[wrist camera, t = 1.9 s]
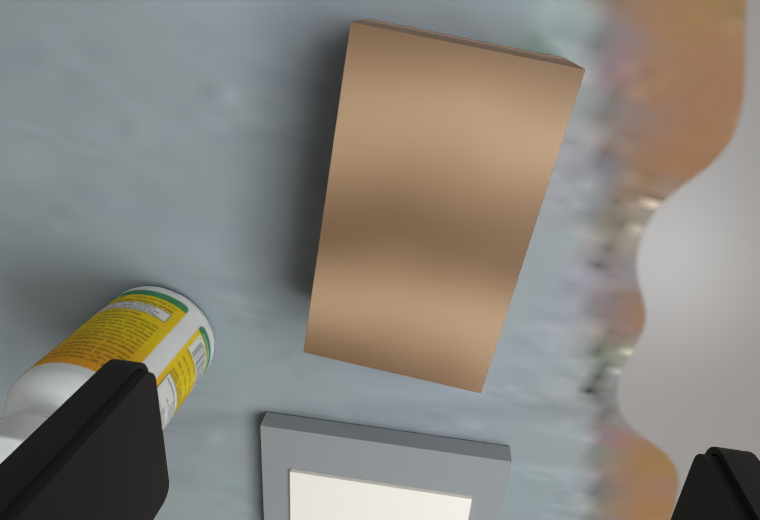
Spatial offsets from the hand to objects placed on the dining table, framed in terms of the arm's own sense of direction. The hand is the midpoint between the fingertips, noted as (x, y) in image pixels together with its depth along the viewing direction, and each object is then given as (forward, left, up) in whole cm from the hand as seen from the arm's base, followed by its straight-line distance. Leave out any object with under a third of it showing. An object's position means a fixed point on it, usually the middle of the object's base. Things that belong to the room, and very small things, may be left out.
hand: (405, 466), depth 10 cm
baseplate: (+21, -1, -14) cm, 25 cm away
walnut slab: (0, 0, -14) cm, 14 cm away
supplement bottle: (+8, -12, -14) cm, 20 cm away
